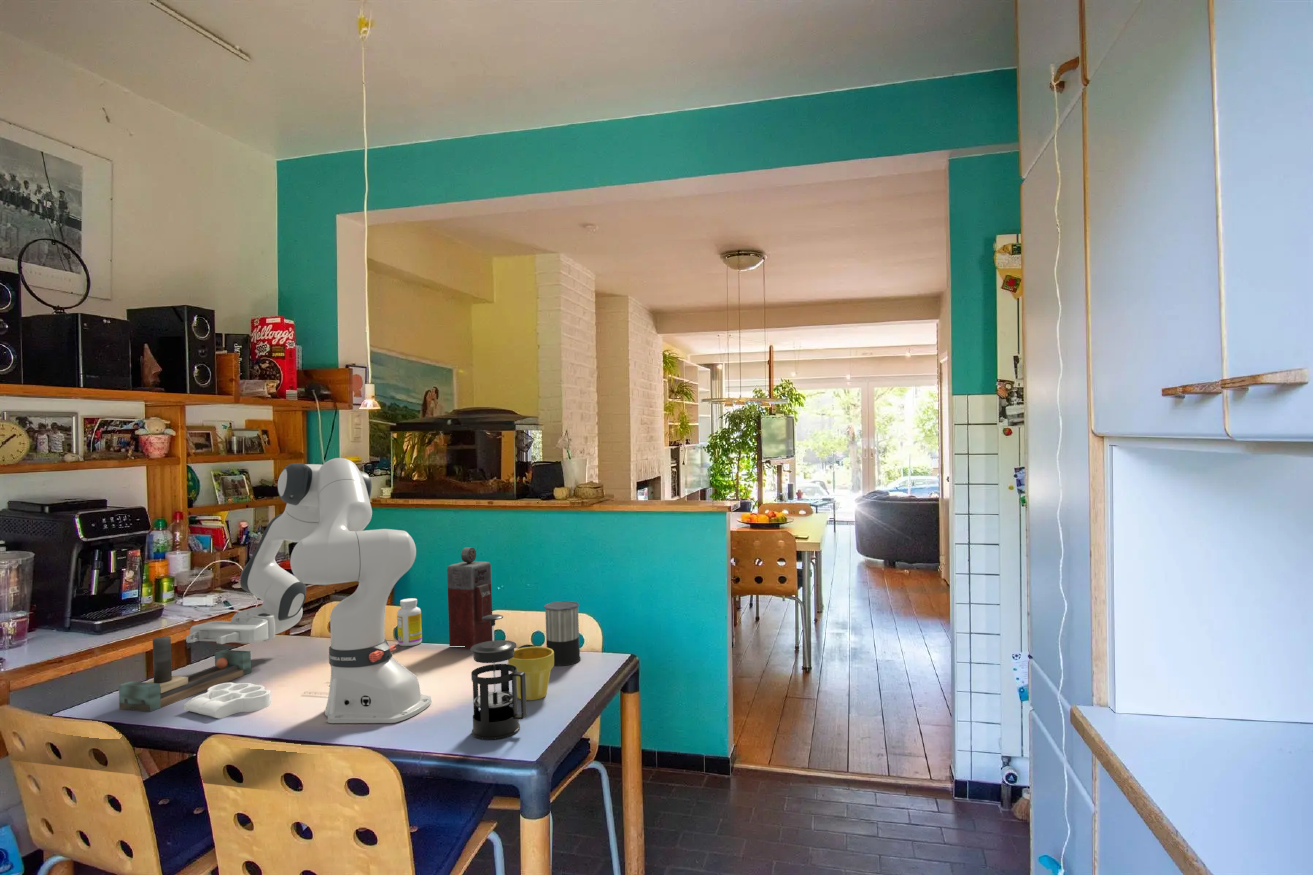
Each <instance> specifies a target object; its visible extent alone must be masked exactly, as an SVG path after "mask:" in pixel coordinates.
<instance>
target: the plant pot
mask: <svg viewBox="0 0 1313 875" xmlns="http://www.w3.org/2000/svg"><path fill="white" fill-rule="evenodd" d="M518 648H519V647H518ZM518 648H517V649H516V648H515V649H514V657H513V658H511V659H509V660H507V664H510V665H514V666H516V667H517V672H525V679H526V701H536V700H539V699H540V700H541V699H543V698H545V697H546V696H547V695H548V694H547V693H548V687H549V683H550V677H551V670H552V669H553V667H554V666H555V665H554V651H553V650H552V649H550V648H547V646H546V647H545V646H536V647H525V648H519V649H518ZM511 673H513V672H511ZM517 699H519V700H521V683H520V676H517Z"/></svg>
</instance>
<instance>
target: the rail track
mask: <svg viewBox="0 0 1313 875" xmlns="http://www.w3.org/2000/svg"><path fill="white" fill-rule="evenodd" d="M251 654H252V653H251V651H250V650H249V651H248V650H232V649H222V650H218V651H215V652H214V665H213V666H210V667H208V668H205V669H203V670H200V671H196V672H194V673H191V674H189V675H186V676H185V677H188V684H185V685H182V686H180V687H177V688H174V689H172V690H169V691H166V692H164V693H160V684H159V683H145V682H146V681H145V682H143V681H130V680H129V681H127V682H123V683H121V684H118V701H119V703H118V704H119V710H125V711H135V710H137V711H138V712H146V713H147V712H149V713H151V712H154V711H156V710H158V709H161V708H163V707H167V706H169V705H171V704H174V703H177V702H179V701H182V700H184V699H186V698H189V697H192V696H194V695H197V694H199V693H202V692H204V691H207V690H208V688H210V687H212V686H214V685H218V684H222V683H229V682H230V681H233V680H235V679H238V678H240V677H243V676H245V675H248V674H251V673H252V660H251ZM223 657H224V658H226V659H227V661H228V664H227V666H226V667H225V668H222V669H219V668H218V667H217V665H216V662H217V660H218V659H220V658H223ZM176 701H177V702H176ZM137 711H136V712H137Z"/></svg>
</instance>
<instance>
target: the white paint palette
mask: <svg viewBox="0 0 1313 875" xmlns="http://www.w3.org/2000/svg"><path fill="white" fill-rule="evenodd" d="M206 691H207V692H204V693H201V694H198V695H196V696H194V697H193V698H190V699H189V700H187V701H185V703H184V704H183V709H184V711H188V712H191V713H196V714H200V715H202V716H208V717H212V718H215V719H223V718H226V717H227V718H228V717H229V716H232V715H235V714H237V713H247V712H248V713H251V712H256V711H257V712H258V711H261V710H263V709H267V708H269V707H270V706H271V705H272V698H271V696H272V695H271V692H272V691H271V690H270V689H265V686H263V685H262V684H253V682H252V683H251V682H250V683H249V682H242V683H241V682H240V683H235V682H230V681H229V682H225V683H222V684H218V685H214V686H212V687H210V688H208V689H207V690H206Z"/></svg>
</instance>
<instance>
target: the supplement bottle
mask: <svg viewBox="0 0 1313 875" xmlns="http://www.w3.org/2000/svg"><path fill="white" fill-rule="evenodd" d="M399 602H400V603H399V605H400V609H398V610H397V612H396V620H397V643H398V645H399V646H401V647H413V646H417V645H419V644H421V643H422V642H423V627H422V610H421V608H420V607H418V606H417V604H418V599H417V598H415V597H414V598H411V597H410V598H403V599H400V601H399Z"/></svg>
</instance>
